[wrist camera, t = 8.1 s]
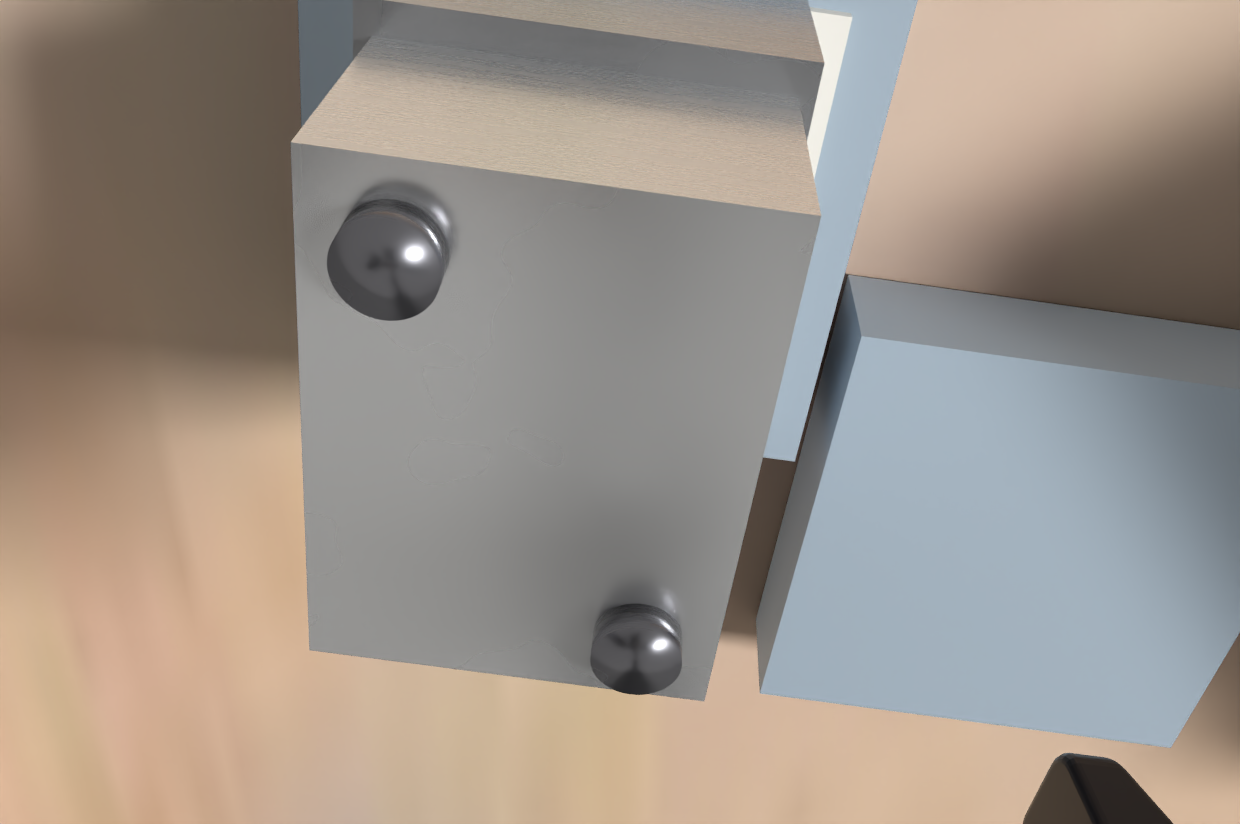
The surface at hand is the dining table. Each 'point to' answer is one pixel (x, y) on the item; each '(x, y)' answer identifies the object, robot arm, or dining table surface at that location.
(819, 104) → the stand
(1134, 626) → the stand
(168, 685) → the dining table surface
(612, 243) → the housing
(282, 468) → the dining table surface
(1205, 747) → the dining table surface
